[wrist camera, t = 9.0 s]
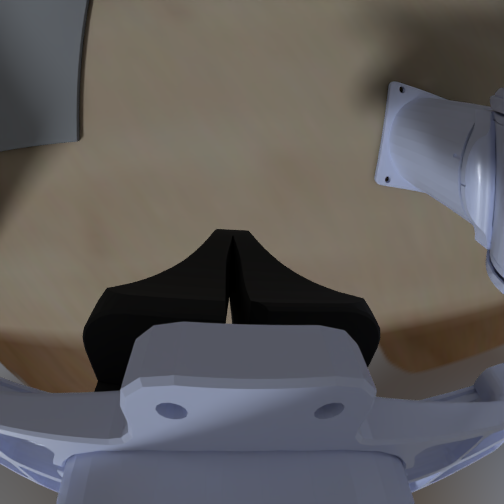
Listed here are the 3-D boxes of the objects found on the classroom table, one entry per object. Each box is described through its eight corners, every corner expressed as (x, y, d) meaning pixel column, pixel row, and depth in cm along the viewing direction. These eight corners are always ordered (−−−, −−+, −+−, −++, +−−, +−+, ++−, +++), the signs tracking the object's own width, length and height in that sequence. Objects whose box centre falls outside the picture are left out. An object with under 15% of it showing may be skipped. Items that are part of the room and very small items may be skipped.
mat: (110, -79, 9) (109, -81, 9) (79, 140, 19) (76, 141, 18) (-34, -13, 8) (-37, -13, 7) (-50, 161, 17) (-53, 162, 17)
